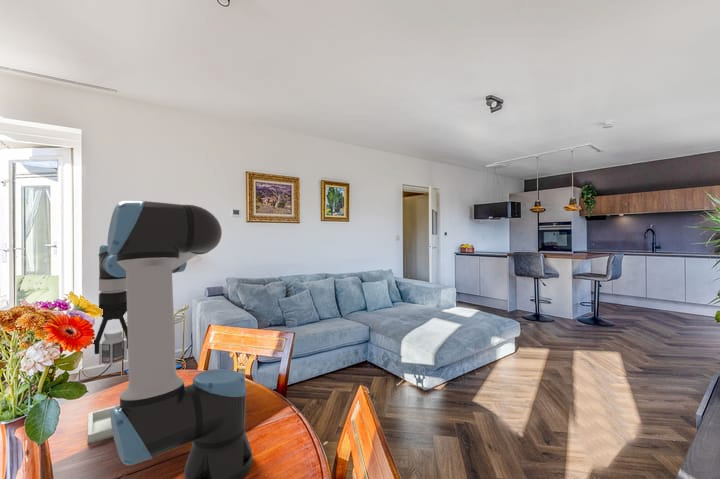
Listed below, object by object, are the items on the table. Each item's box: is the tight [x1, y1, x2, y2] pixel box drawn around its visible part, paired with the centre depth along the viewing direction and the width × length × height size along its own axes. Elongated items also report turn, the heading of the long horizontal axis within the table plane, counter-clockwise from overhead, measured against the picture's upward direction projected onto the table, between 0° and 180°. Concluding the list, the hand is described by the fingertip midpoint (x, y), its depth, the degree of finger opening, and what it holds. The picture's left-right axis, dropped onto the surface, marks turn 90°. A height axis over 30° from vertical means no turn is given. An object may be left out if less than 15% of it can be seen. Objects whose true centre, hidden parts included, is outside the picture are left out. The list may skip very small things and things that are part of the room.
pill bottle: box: [101, 329, 125, 366], centre depth 107 cm, size 6×6×10 cm
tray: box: [87, 404, 120, 445], centre depth 96 cm, size 14×14×2 cm
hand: (113, 360), depth 107 cm, fingers closed on pill bottle, 6 cm apart
